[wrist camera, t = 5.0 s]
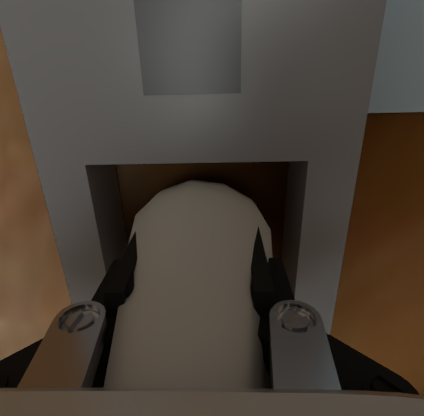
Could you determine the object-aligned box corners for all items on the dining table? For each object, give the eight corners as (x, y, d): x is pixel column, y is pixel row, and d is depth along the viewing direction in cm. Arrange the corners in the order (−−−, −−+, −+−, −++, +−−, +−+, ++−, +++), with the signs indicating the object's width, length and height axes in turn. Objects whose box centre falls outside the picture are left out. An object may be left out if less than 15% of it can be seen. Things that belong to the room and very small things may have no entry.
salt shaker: (161, 145, 13) (-292, 732, 2) (284, 187, 14) (636, 832, 2) (131, 255, 16) (-148, 834, 4) (237, 287, 16) (286, 868, 4)
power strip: (-42, -418, 8) (-251, -809, 4) (406, -453, 7) (568, -909, 4) (114, 347, 18) (89, 412, 15) (304, 347, 18) (324, 413, 14)
